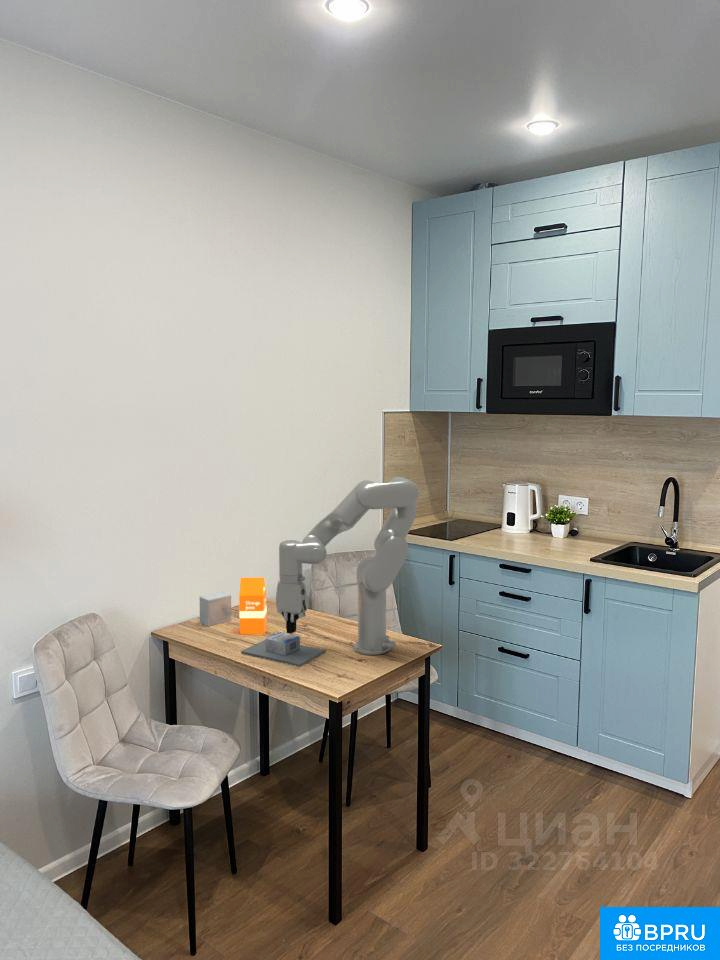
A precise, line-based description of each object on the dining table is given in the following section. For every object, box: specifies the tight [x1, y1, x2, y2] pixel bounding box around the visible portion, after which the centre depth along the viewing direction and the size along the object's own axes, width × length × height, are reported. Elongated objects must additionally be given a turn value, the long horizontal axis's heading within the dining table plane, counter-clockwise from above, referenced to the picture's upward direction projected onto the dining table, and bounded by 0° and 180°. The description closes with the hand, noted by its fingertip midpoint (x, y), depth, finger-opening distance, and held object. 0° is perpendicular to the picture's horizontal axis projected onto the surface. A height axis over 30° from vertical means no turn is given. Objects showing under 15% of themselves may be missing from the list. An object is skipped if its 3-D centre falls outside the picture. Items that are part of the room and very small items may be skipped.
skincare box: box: [199, 591, 232, 627], centre depth 274 cm, size 10×6×10 cm, turn 133°
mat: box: [240, 638, 326, 667], centre depth 241 cm, size 24×15×1 cm, turn 60°
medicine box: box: [265, 631, 301, 655], centre depth 242 cm, size 8×4×9 cm
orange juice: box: [238, 577, 268, 635], centre depth 263 cm, size 8×9×20 cm
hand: (291, 632), depth 239 cm, fingers closed
